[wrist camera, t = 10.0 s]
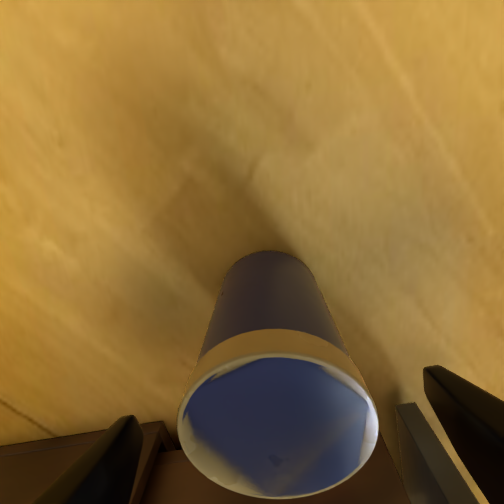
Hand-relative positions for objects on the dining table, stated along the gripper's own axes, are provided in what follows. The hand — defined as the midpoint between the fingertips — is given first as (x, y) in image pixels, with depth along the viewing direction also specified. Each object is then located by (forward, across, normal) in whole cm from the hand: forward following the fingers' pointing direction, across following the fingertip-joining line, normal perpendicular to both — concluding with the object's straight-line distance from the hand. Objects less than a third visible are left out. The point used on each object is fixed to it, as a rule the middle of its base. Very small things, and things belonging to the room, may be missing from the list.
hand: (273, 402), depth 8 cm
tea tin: (+7, 0, 0) cm, 7 cm away
